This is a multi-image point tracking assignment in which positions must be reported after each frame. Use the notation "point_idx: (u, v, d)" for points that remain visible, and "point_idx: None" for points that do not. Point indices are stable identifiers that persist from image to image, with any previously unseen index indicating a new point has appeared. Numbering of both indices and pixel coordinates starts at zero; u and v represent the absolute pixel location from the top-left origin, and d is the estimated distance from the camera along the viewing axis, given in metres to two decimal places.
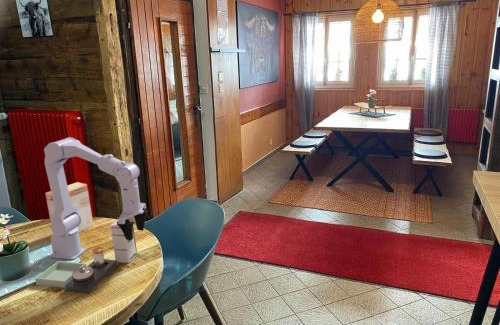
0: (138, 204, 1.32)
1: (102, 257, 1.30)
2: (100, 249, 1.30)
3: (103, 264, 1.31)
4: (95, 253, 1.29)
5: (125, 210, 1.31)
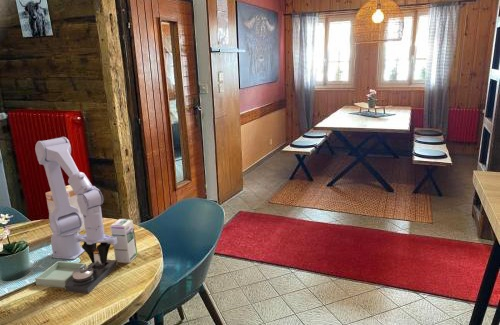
0: (89, 234, 1.26)
1: None
2: None
3: (103, 264, 1.31)
4: (95, 253, 1.29)
5: None
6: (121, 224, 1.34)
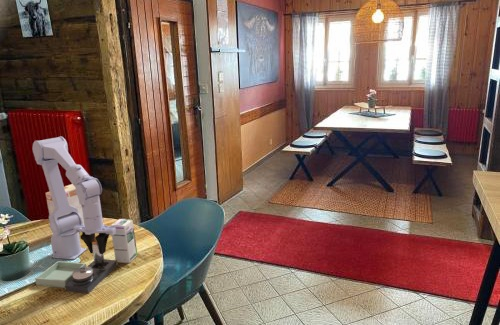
0: (87, 224, 1.25)
1: None
2: None
3: (102, 255, 1.30)
4: (94, 243, 1.28)
5: None
6: (121, 224, 1.34)
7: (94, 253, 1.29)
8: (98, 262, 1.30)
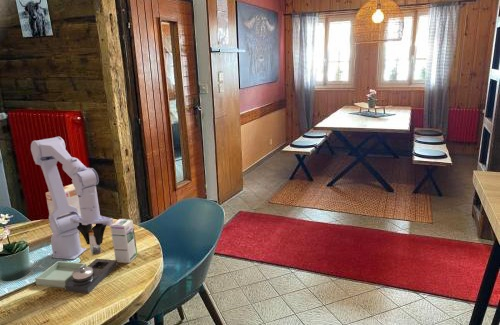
0: (84, 214, 1.24)
1: None
2: None
3: (99, 246, 1.29)
4: (90, 234, 1.27)
5: None
6: (121, 224, 1.34)
7: (91, 244, 1.28)
8: (95, 253, 1.29)
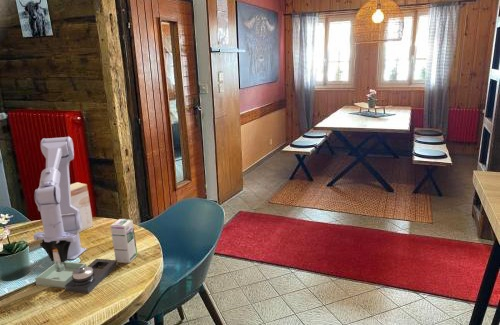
0: (47, 231, 1.21)
1: None
2: None
3: (63, 263, 1.27)
4: (54, 251, 1.24)
5: None
6: (121, 224, 1.34)
7: (55, 261, 1.26)
8: (59, 270, 1.26)
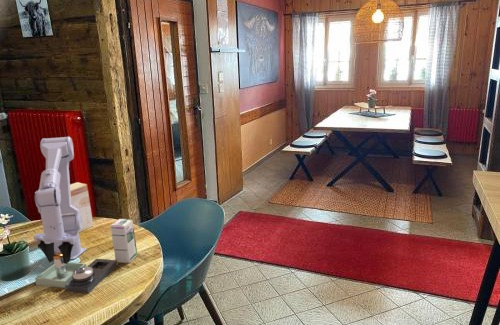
0: (47, 233, 1.21)
1: (63, 262, 1.27)
2: (61, 254, 1.26)
3: (64, 270, 1.27)
4: (55, 258, 1.25)
5: None
6: (121, 224, 1.34)
7: (56, 268, 1.26)
8: (60, 277, 1.27)
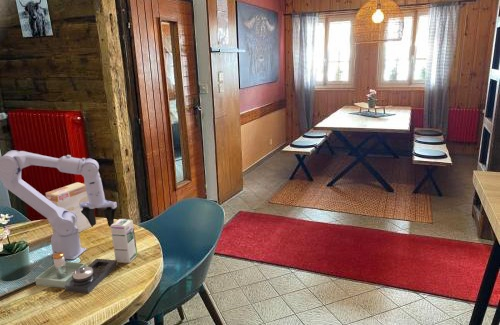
0: (91, 199, 1.39)
1: (63, 262, 1.27)
2: (61, 254, 1.26)
3: (64, 269, 1.27)
4: (55, 258, 1.25)
5: None
6: (121, 224, 1.34)
7: (56, 268, 1.26)
8: (60, 277, 1.27)
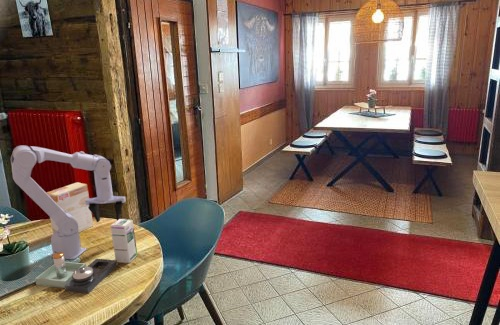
0: (102, 194, 1.44)
1: (63, 262, 1.27)
2: (60, 254, 1.26)
3: (64, 269, 1.27)
4: (55, 258, 1.25)
5: None
6: (121, 224, 1.34)
7: (56, 268, 1.26)
8: (60, 277, 1.27)
